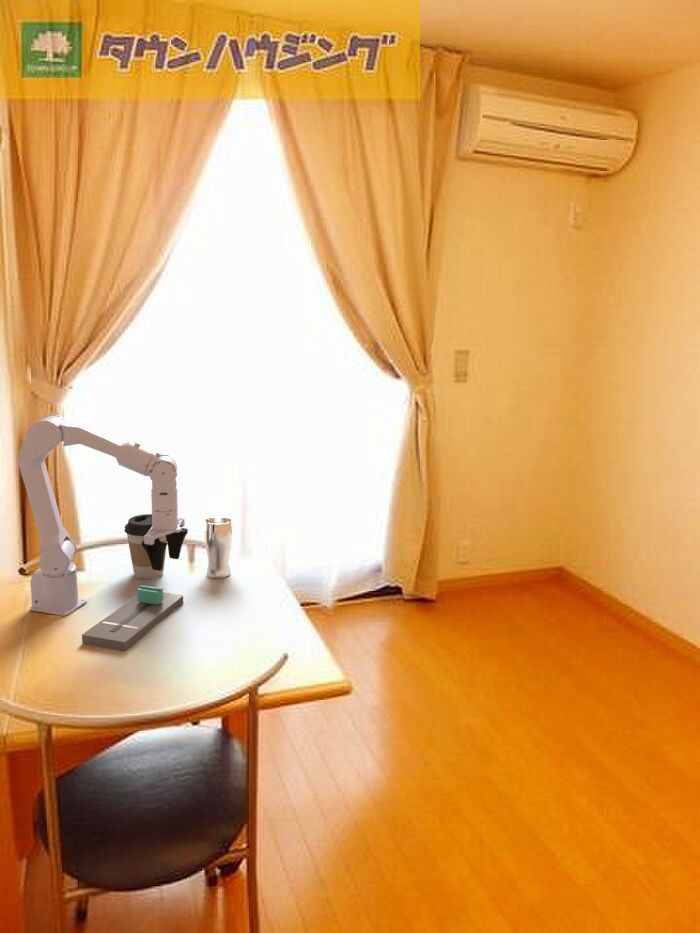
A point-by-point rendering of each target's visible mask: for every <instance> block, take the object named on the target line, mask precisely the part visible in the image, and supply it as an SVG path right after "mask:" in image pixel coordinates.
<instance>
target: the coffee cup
mask: <svg viewBox="0 0 700 933" xmlns="http://www.w3.org/2000/svg"><path fill="white" fill-rule="evenodd" d="M151 527H152V513H146V514H144V513H143V514H139V515H135V516H131V518H129V519H128V521H127V523H126V524H125V525H124V529H123V530H124V532H125V534H126V537H127V542H128V547H129V548H128V549H129V554H130V560H131V564H132V570H133V574H134V576H135V578H137V579H140V580H152V578H153V579H157V578H159V577H158V576H160V575H161V574H162V573H163V574H164V570H165V563H166V552H167V548H166V549H165V552H164V558H163V568H162V570H161V571H158V570H153V569H152V565H151V562H150V559H149V556H148V554H147V552H146V551H145V549H144V548H143V546H142V541H143V540H144V536H145V535H146V534H147V533H148V532H149V530H150V529H151ZM160 541H161V542H163V543H167V539H166V536H163V537H161V538H160ZM163 574H162V575H163ZM162 575H161V576H162ZM161 576H160V577H161ZM156 577H157V578H156Z"/></svg>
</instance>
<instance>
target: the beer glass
mask: <svg viewBox="0 0 700 933" xmlns="http://www.w3.org/2000/svg"><path fill="white" fill-rule="evenodd" d="M204 521H205V522H204V523H205V525H204V544H205V549H206V553H207V559H208V560H207V562H208V563H207V564H208V565H207V571H206V576H207V575H208V576H210V577H209V578H211V577H212V578H211V579H223V578H222V577H225V578H227V577H226V576H228V575H229V574H230V575H231V569H230V563H229V562H230V561H229V560H230V554H231V553H230V552H231V549H232V542H233V530H232V529H233V527H232V519H231V518H230V517H227V516H222V515H221V516H211V517H207V518H206V519H205V520H204ZM230 575H229V576H230ZM208 576H207V577H208ZM229 576H228V577H229Z"/></svg>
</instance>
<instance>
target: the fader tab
mask: <svg viewBox="0 0 700 933" xmlns="http://www.w3.org/2000/svg"><path fill="white" fill-rule="evenodd" d="M163 592H164V589H163V587H156V586H149V585H140V586H139V588H138V589H137V595H138V602H144V603H150V604H156V605H158V604H159V603H161V602H162V601H163Z"/></svg>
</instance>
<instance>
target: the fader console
mask: <svg viewBox="0 0 700 933" xmlns="http://www.w3.org/2000/svg"><path fill="white" fill-rule="evenodd" d="M182 605H184V595H183V594H176V593H170V592H164V591H163V601H162V602H161V603H159V604H158V605H156V604H150V603H144V602H138V594H137V595H136V596H135V597H133V598H131V599H130V600H129V601H127V602H126V603H124V604H123V605H122V606H120V607H119V608H117V609H116V610H114V611H113V612H112V613H110V614H109V615H107V616H106V617H105V618H103V619H102V620H100V621H99V622H98V623H97V624H94V625H93V626H92V627H90V628H89V629H88V630H86V631H85V632H83V633H82V634H81V643H85V644H84V645H88V644H90V645H89V646H94V645H96V646H95V647H99V646H101V647H100V648H105V649H112V650H118V651H122V652H127V650H129V649H130V648H131V647H133V645H135V644H136V643H137V642H138V641H139V640H140V639H141V640H142V638H143V637H144V636H145V635H147V634H148V633H149V632H151V630H153V629H154V628H156V626H158V625H159V624H160V623H161V622H162V621H164V620H166V618H167V617H169V616H170V615H171V614H172V613H173V612H175V611H176V610H177V609H178V608H180V607H181V606H182Z"/></svg>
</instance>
